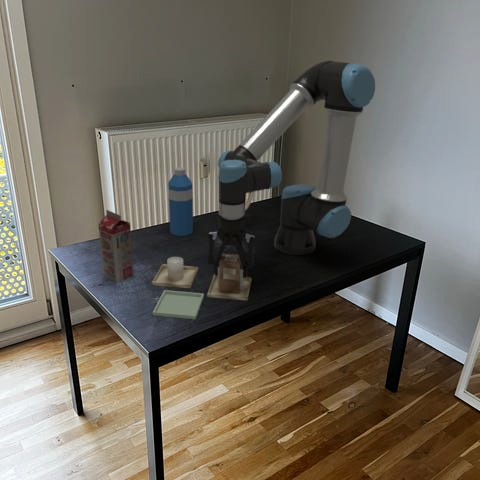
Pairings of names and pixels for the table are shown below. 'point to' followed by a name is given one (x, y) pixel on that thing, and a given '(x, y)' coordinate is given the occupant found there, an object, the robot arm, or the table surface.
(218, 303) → the table surface
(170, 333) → the table surface
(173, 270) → the white dome
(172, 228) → the water bottle
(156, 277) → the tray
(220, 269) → the letter block
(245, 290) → the tray
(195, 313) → the tray
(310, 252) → the robot arm
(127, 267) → the juice carton
